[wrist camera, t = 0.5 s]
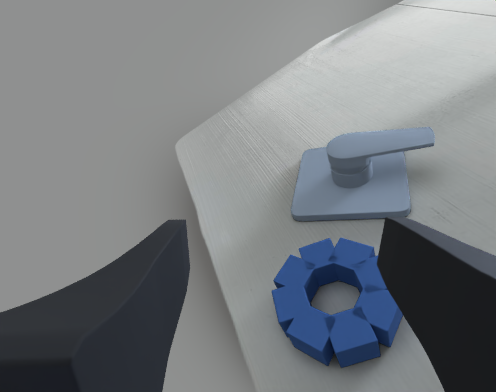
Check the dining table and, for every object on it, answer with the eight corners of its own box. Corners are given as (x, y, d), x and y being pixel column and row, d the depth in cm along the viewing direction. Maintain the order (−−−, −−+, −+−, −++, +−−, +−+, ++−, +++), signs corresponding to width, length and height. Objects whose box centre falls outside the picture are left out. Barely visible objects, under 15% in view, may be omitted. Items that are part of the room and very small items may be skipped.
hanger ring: (426, 343, 24) (427, 325, 22) (298, 381, 25) (288, 367, 23) (368, 243, 32) (365, 225, 30) (272, 276, 33) (264, 259, 31)
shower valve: (444, 173, 28) (278, 187, 34) (441, 216, 31) (291, 221, 37) (426, 100, 36) (295, 122, 42) (425, 140, 39) (304, 155, 45)
